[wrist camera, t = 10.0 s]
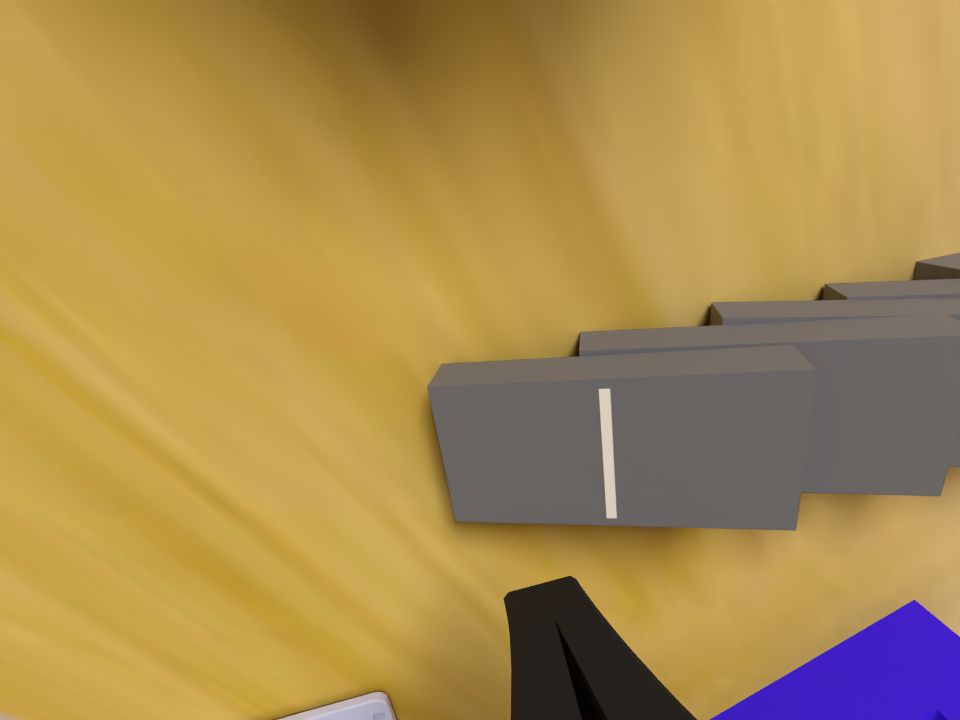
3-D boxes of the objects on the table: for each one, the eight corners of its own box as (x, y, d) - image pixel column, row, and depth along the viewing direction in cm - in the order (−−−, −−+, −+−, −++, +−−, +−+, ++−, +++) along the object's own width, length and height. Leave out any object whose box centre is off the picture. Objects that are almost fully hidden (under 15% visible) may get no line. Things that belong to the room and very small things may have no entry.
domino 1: (466, 490, 18) (776, 493, 15) (455, 522, 16) (796, 531, 14) (442, 364, 16) (791, 344, 13) (427, 387, 14) (817, 369, 12)
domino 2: (587, 459, 18) (907, 463, 16) (586, 487, 17) (940, 496, 14) (580, 332, 16) (944, 313, 14) (578, 350, 15) (985, 334, 12)
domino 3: (698, 430, 18) (1023, 441, 16) (707, 455, 17) (1067, 472, 15) (711, 302, 16) (1084, 294, 14) (723, 318, 15) (1141, 312, 13)
